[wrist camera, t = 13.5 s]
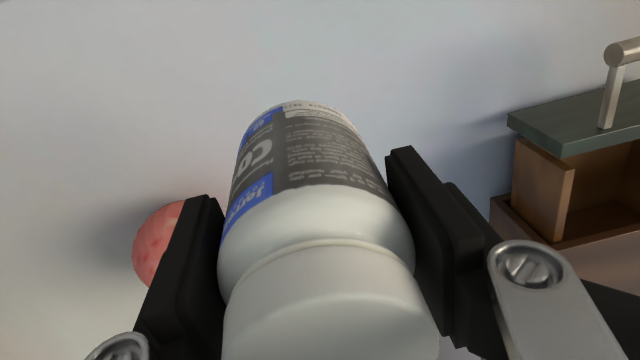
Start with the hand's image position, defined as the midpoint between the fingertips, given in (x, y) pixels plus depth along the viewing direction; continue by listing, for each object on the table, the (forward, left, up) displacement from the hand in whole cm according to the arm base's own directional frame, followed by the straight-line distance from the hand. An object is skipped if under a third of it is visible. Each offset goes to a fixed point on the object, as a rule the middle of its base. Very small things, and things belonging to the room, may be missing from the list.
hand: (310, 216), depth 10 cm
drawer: (-17, +19, -17) cm, 31 cm away
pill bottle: (0, 0, -4) cm, 4 cm away
